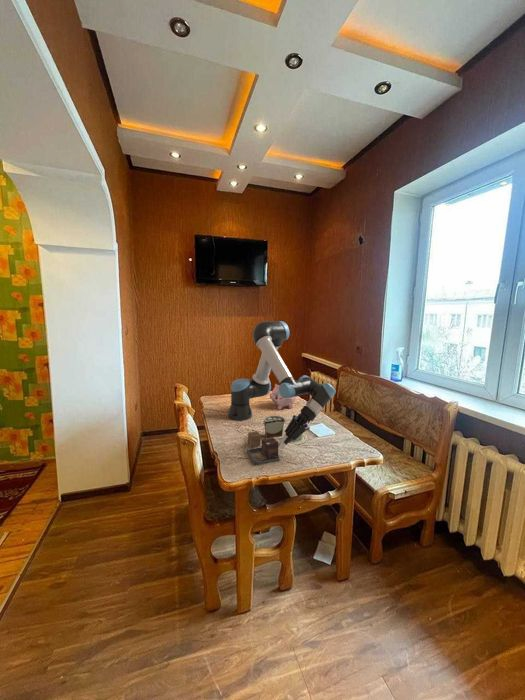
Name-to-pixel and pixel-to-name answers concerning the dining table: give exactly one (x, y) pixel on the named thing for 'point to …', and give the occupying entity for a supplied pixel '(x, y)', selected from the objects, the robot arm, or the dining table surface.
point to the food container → (274, 426)
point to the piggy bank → (281, 399)
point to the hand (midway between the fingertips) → (279, 447)
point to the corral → (258, 462)
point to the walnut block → (254, 439)
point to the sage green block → (298, 438)
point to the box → (269, 447)
